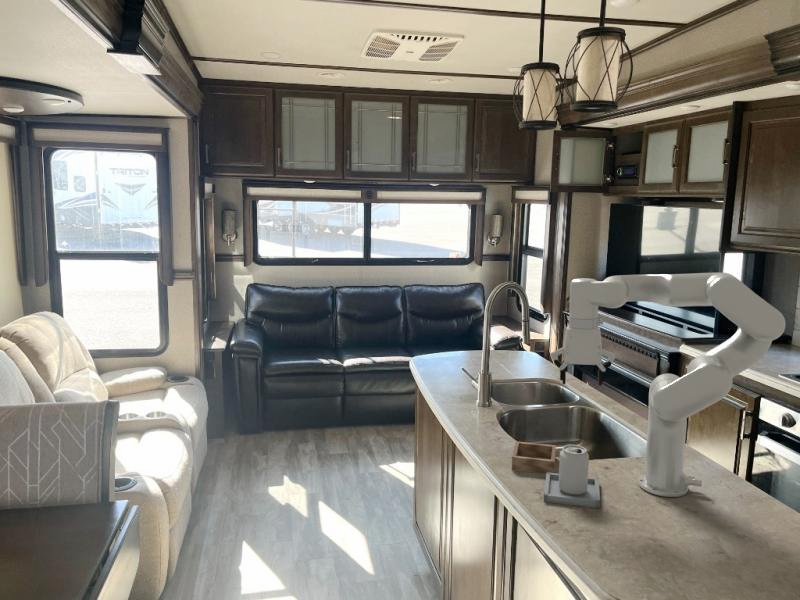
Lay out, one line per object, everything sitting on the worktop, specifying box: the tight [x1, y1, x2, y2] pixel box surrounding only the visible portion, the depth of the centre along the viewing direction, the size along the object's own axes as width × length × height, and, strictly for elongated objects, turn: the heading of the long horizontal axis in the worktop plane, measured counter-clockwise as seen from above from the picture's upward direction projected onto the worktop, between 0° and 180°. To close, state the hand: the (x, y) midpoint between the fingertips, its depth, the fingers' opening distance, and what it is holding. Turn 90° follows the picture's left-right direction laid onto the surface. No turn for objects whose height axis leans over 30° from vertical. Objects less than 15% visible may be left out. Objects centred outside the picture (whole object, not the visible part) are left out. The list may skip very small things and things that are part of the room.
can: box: [558, 444, 590, 496], centre depth 166 cm, size 8×8×12 cm
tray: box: [543, 472, 601, 509], centre depth 167 cm, size 14×14×2 cm
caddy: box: [511, 441, 557, 475], centre depth 185 cm, size 12×12×4 cm
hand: (581, 383), depth 173 cm, fingers open, 9 cm apart
